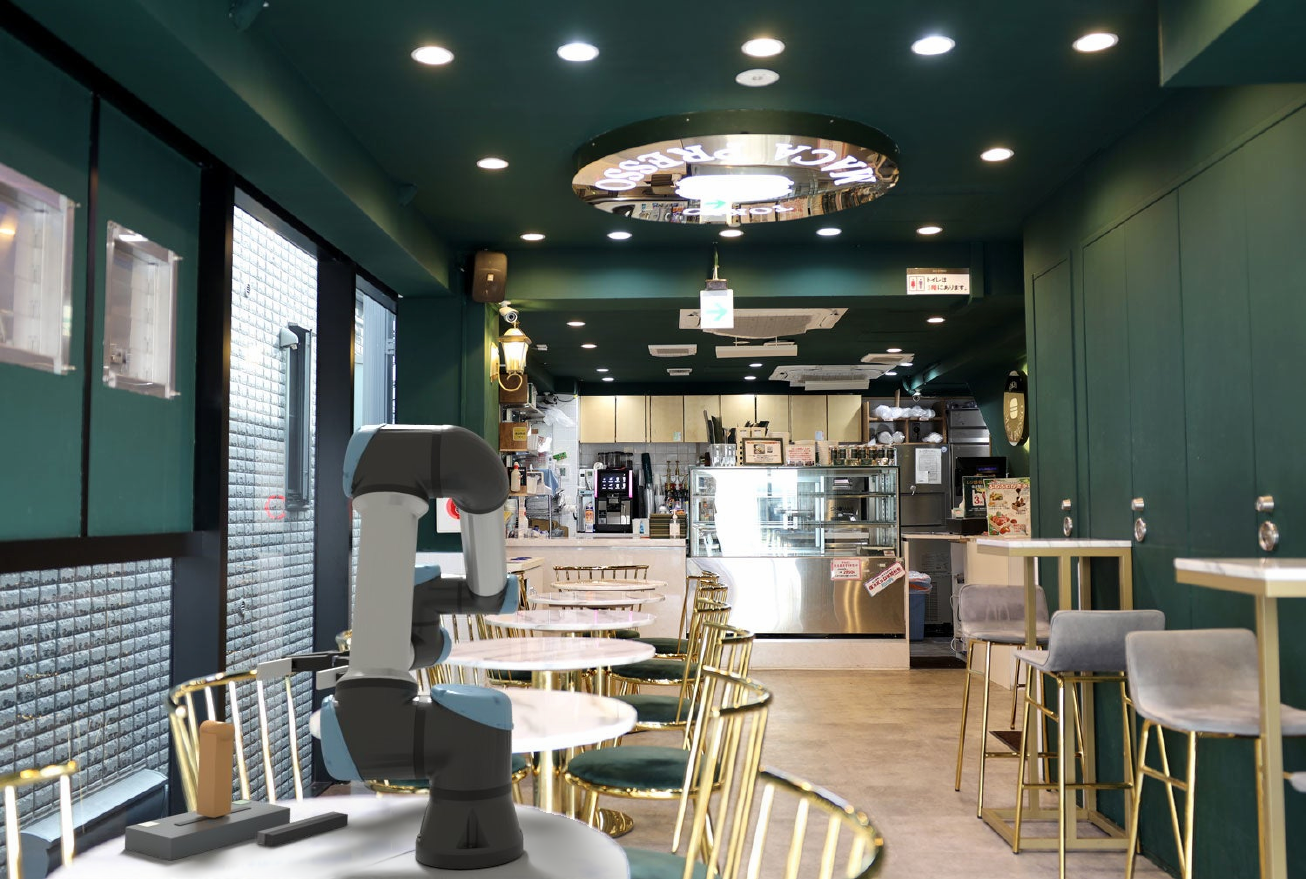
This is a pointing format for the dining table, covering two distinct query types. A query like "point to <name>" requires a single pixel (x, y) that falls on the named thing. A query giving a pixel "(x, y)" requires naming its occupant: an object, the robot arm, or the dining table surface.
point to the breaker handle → (215, 768)
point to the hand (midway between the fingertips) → (287, 676)
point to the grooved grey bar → (302, 828)
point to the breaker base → (203, 830)
